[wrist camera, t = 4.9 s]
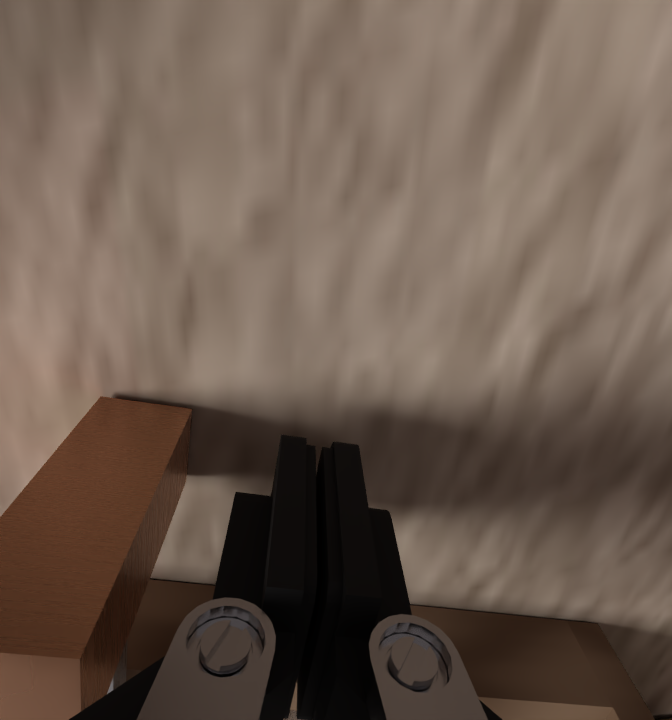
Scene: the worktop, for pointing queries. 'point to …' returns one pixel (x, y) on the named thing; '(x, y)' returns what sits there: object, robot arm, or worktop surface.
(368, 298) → the worktop surface
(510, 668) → the lane
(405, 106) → the worktop surface
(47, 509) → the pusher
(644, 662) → the worktop surface
